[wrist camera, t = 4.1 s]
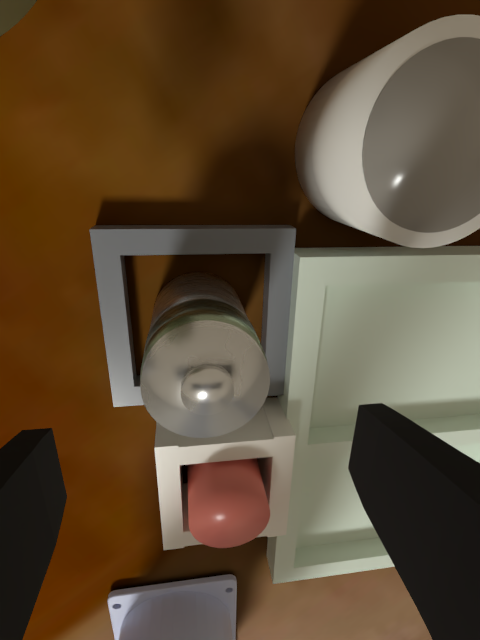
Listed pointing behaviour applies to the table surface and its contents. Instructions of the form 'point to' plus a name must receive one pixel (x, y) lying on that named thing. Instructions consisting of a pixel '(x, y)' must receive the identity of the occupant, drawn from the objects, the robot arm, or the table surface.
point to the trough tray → (370, 383)
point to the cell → (202, 359)
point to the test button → (226, 502)
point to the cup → (400, 138)
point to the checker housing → (243, 443)
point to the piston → (13, 12)
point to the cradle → (181, 241)
